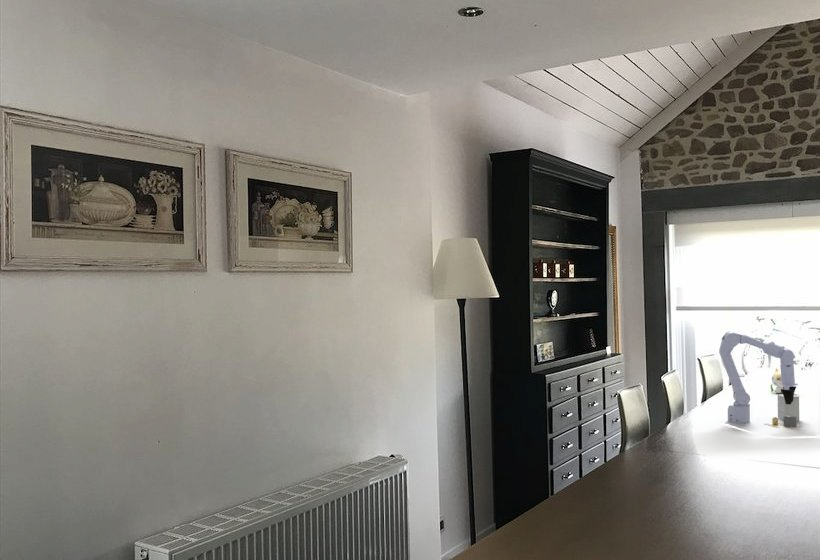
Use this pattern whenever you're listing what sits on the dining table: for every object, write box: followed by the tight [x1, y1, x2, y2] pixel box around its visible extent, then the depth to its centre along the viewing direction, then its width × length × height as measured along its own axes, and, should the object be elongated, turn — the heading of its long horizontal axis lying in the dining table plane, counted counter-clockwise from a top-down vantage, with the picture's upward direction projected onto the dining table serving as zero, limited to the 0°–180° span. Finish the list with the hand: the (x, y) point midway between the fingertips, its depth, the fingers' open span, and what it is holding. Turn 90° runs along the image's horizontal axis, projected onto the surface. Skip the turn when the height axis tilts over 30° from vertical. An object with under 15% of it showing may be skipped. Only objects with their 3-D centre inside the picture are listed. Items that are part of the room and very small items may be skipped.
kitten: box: [770, 367, 784, 394], centre depth 460 cm, size 15×10×15 cm
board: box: [764, 422, 802, 429], centre depth 354 cm, size 13×10×1 cm
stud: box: [771, 416, 779, 425], centre depth 357 cm, size 2×2×4 cm
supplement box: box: [777, 394, 800, 422], centre depth 370 cm, size 7×7×13 cm
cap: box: [783, 415, 798, 428], centre depth 353 cm, size 5×5×4 cm
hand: (789, 403), depth 360 cm, fingers open, 7 cm apart
